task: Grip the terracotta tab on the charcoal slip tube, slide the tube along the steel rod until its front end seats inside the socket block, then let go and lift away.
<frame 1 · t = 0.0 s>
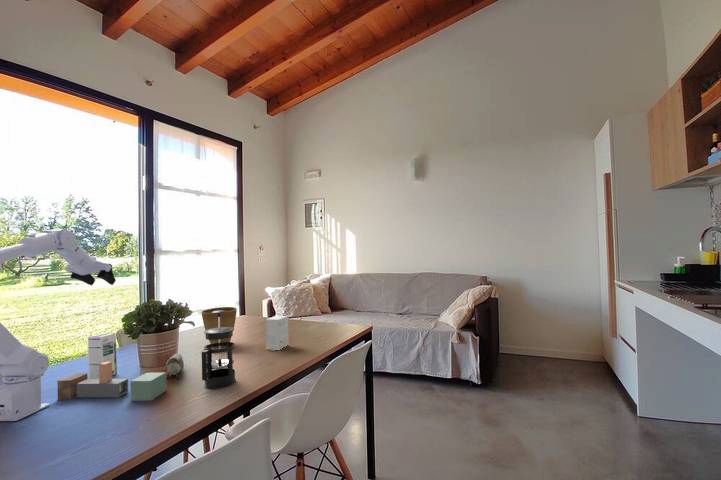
hand: (103, 282, 125), 32 cm above the table, tool tilted 50°, fingers open, 7 cm apart
small box: (277, 348, 154), on the table
plant pot: (220, 345, 161), on the table
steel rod: (99, 387, 107), point 2 cm above the table
rod stand: (72, 386, 108), on the table
socket block: (149, 395, 106), on the table
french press: (219, 384, 113), on the table
syrup box: (102, 377, 124), on the table
slip tube: (102, 378, 107), point 5 cm above the table, slide at 0.0 cm
decorative bird: (175, 375, 124), on the table
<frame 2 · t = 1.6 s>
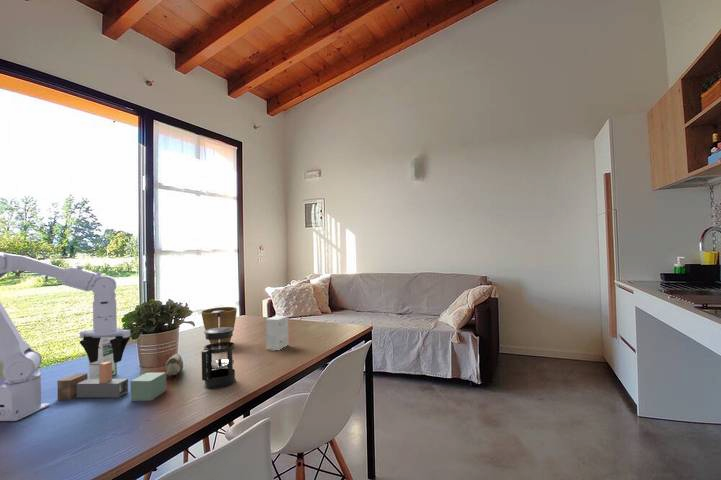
hand: (105, 361, 107), 10 cm above the table, tool pointing down, fingers open, 7 cm apart
nothing on the table moved.
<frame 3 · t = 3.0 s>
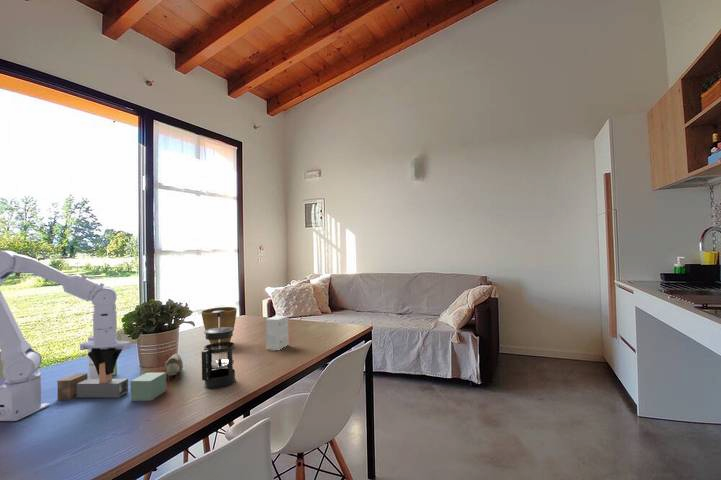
hand: (105, 373, 107), 6 cm above the table, tool pointing down, fingers closed on slip tube, 2 cm apart
slip tube: (102, 378, 107), point 5 cm above the table, slide at 0.0 cm, touching gripper
everything else where it was.
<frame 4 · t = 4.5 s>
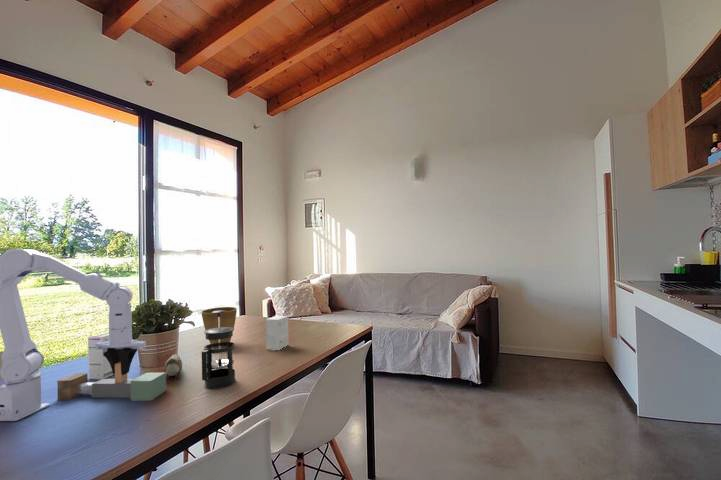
hand: (121, 373, 107), 6 cm above the table, tool pointing down, fingers closed on slip tube, 2 cm apart
slip tube: (117, 378, 107), point 5 cm above the table, slide at 4.9 cm, touching gripper
everything else where it was.
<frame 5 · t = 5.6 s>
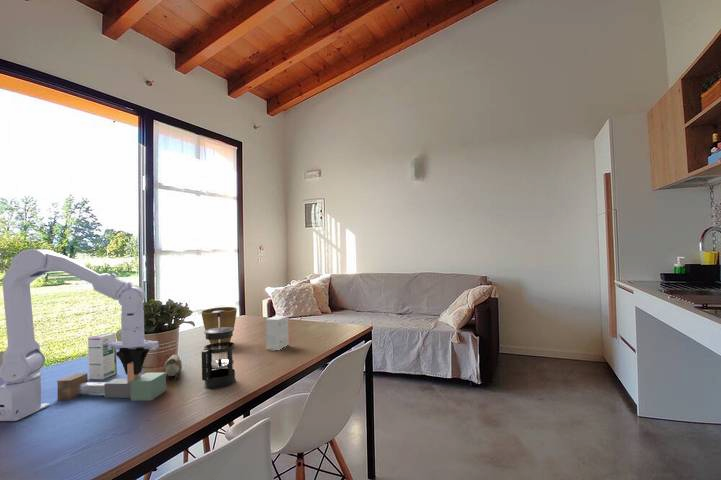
hand: (133, 373, 106), 6 cm above the table, tool pointing down, fingers closed on slip tube, 2 cm apart
slip tube: (130, 378, 106), point 5 cm above the table, slide at 8.8 cm, touching gripper
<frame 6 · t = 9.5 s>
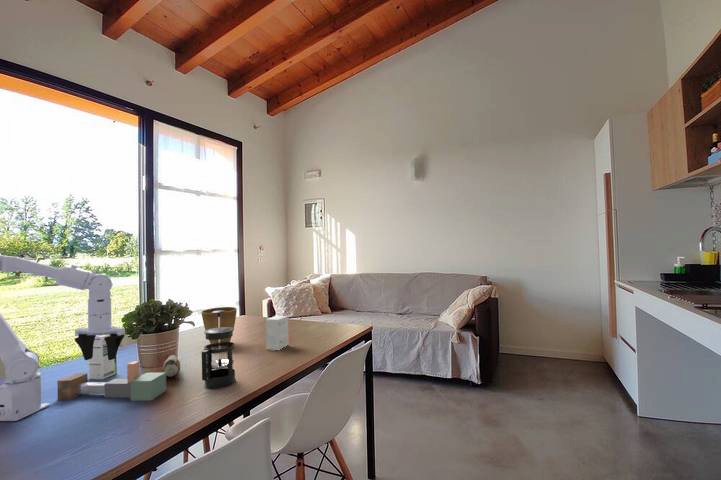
hand: (100, 359, 108), 10 cm above the table, tool pointing down, fingers open, 7 cm apart
slip tube: (130, 378, 106), point 5 cm above the table, slide at 8.8 cm
at the end: slip tube slide at 8.8 cm; the gripper is holding nothing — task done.
